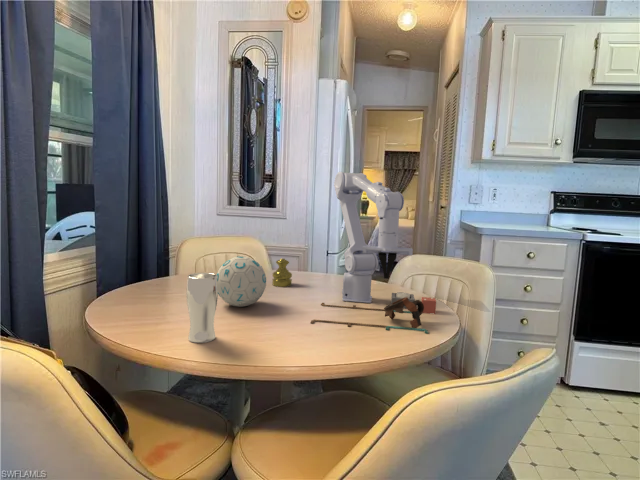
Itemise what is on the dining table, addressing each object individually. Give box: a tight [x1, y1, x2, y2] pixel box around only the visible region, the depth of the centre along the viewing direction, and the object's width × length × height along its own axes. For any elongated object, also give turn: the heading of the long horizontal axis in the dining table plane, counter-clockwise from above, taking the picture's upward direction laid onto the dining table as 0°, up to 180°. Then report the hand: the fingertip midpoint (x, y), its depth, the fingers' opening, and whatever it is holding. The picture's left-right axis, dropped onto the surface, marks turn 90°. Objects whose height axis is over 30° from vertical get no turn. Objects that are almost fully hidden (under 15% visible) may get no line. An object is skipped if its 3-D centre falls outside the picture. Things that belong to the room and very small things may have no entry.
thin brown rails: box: [310, 302, 429, 335], centre depth 117 cm, size 31×21×1 cm
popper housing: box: [390, 292, 416, 309], centre depth 131 cm, size 7×7×3 cm
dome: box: [395, 291, 411, 298], centre depth 131 cm, size 4×4×3 cm
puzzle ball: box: [216, 255, 267, 308], centre depth 123 cm, size 15×15×15 cm
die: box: [420, 296, 437, 315], centre depth 125 cm, size 4×4×4 cm
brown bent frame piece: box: [383, 297, 424, 328], centre depth 113 cm, size 12×10×8 cm
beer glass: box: [185, 272, 219, 344], centre depth 95 cm, size 7×7×15 cm
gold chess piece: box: [271, 258, 293, 288], centre depth 153 cm, size 7×7×10 cm
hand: (386, 277), depth 122 cm, fingers closed
